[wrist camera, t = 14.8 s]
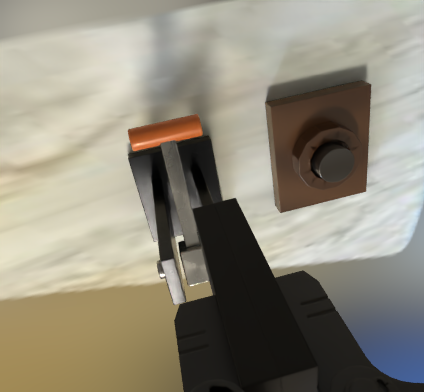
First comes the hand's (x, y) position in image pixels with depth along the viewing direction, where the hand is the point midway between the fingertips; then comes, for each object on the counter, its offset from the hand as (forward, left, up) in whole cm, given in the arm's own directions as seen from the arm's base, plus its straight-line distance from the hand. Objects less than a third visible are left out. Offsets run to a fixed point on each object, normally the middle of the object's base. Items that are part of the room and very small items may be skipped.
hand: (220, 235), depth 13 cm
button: (+10, +14, -21) cm, 27 cm away
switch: (+7, -1, -15) cm, 16 cm away
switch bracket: (+11, -1, -24) cm, 27 cm away
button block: (+10, +14, -24) cm, 30 cm away
